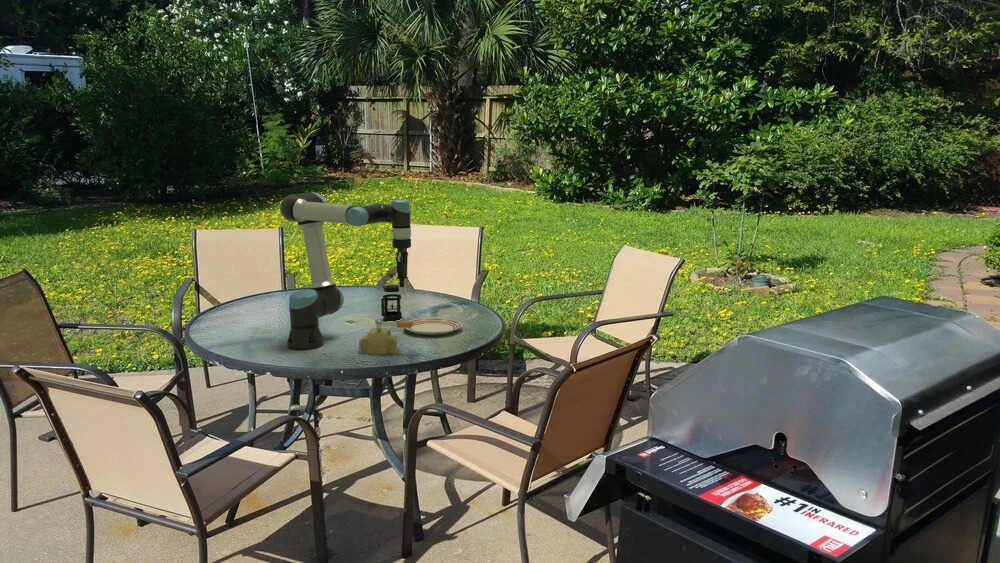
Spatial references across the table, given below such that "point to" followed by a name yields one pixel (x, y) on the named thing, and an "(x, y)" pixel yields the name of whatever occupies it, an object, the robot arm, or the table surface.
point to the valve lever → (394, 324)
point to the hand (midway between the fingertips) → (402, 294)
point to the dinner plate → (434, 326)
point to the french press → (384, 307)
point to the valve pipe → (379, 342)
